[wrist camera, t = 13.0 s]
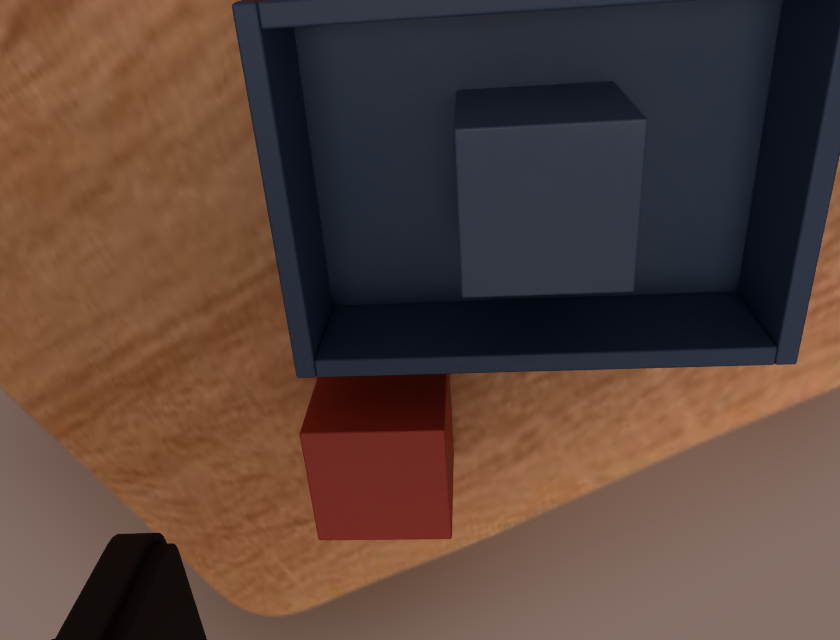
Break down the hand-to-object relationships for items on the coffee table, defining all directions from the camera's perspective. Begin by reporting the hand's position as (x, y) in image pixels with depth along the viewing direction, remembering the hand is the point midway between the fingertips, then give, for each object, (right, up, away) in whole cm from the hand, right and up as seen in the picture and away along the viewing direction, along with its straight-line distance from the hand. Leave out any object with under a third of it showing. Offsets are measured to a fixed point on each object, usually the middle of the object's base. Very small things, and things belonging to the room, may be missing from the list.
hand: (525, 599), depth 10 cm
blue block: (+2, +8, +12) cm, 15 cm away
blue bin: (+2, +9, +12) cm, 15 cm away
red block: (-2, +1, +17) cm, 17 cm away
